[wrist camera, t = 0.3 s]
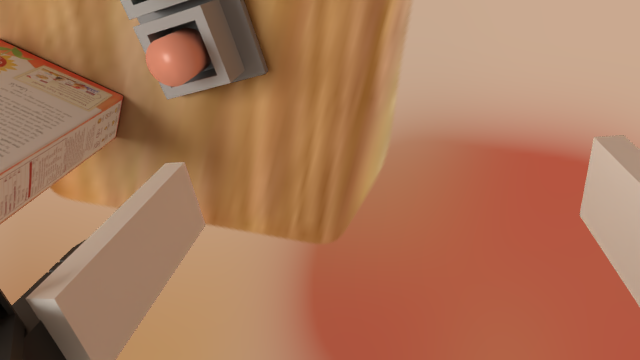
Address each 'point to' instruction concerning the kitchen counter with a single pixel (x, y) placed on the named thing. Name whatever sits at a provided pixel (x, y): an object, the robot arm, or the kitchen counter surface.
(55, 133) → the cracker box
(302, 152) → the kitchen counter surface
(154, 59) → the salmon button
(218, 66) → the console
